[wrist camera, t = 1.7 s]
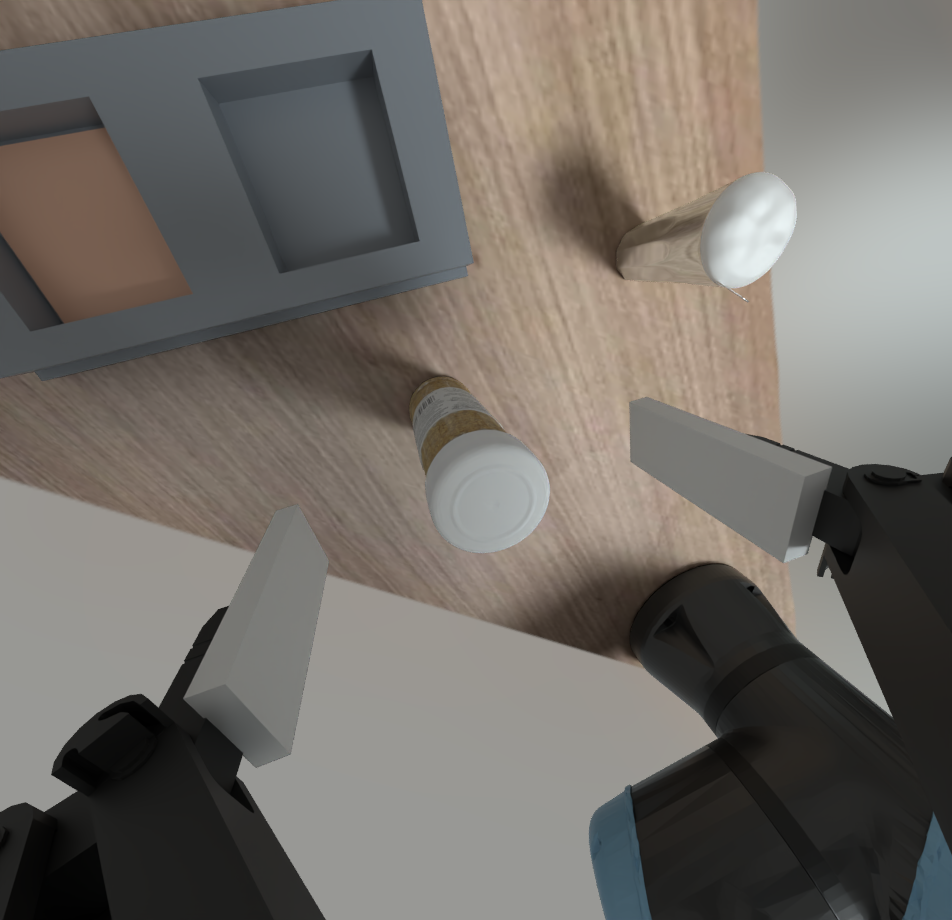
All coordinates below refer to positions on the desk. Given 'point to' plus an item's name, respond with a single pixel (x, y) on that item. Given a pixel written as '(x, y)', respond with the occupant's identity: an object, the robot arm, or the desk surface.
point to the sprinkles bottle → (475, 470)
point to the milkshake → (714, 236)
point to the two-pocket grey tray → (218, 180)
